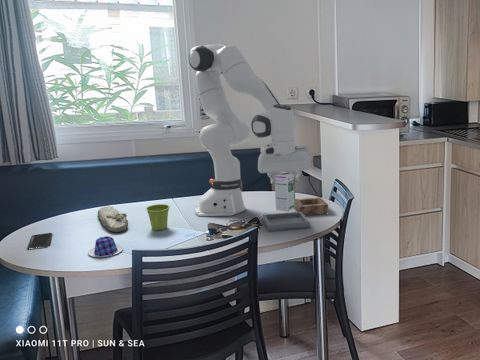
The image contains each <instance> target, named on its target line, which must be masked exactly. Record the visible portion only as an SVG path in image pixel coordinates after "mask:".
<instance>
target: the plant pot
mask: <svg viewBox="0 0 480 360" xmlns="http://www.w3.org/2000/svg"><path fill="white" fill-rule="evenodd" d="M170 207H171V206H170V205H168V204H165V203H164V204H163V203H160V204H157V203H156V204H152V205H149V206H147V207H145V210H146V211H147V214H148V217H149V223H150V226H151V229H152V230H154V231H159V230H160V231H163V230H166V229H167V228H168V218H169V216H168V215H169V211H170Z"/></svg>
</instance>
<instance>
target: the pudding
mask: <svg viewBox="0 0 480 360" xmlns="http://www.w3.org/2000/svg"><path fill="white" fill-rule="evenodd" d="M117 248H119V251H118V252H117V250H118V249H117ZM123 249H124V247H123V246H122V245H120V244H116V242H115V239H114V238H113V237H112V236H107V235H105V236H100V237H98V238H97V239H96V240H95V244H94V247H93V248H91V249H90V250H89V251H88V255H89V256H90V257H95V258H105V257H111V256H114V255H118V254H119V253H121V252H122V251H123ZM93 253H94V254H93ZM112 254H113V255H112ZM95 255H96V256H95ZM104 255H108V256H104Z"/></svg>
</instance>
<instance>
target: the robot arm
mask: <svg viewBox="0 0 480 360" xmlns="http://www.w3.org/2000/svg"><path fill="white" fill-rule="evenodd" d="M248 62H249V61H247V59H246V57H245V56H244V54H243V53H242V52H241V50H240V49H239V48H238V47H237V46H236V45H234V44H226V43H225V44H219V43H215V44H214V43H211V44H205V45H204V44H203V45H196V46H193V47H192V48H191V50H190V51H189V55H188V64H189V66H190V68H191V69H192V70H194V71H195V72H196V73H195V75H194V81H195V87H196V92H197V95H198V97H199V101H200V104H201V106H202V109H203V113H204V114H205V115H206V116H207V117H209V118H211V119H213V121H215V123H211V124H209V125H207V126H204V127H202V128H201V130H200V132H199V136H198V137H199V138H198V140H199V142H200V144H201V146H202V147H203V148H204V149H205V150H207V152H208V153H209V155H210V157H211V159H212V162H213V168H214V169H213V170H214V178H210V179H209V184H210V187H211V188H210V189H208V190H207V191H206V192H205V193H204V194H202V195H201V196H200V199H199V203H198V206H196V207H195V209H194V214H195V215H196V216H198V217H223V216H224V217H227V216H229V217H230V216H235V215H236V214H239V213H242V212H244V211H245V210H246V206H245V203H244V200H243V199H244V198H243V193H242V191H243V182H242V177H241V163H240V160H239V158H237V157H236V156H234V155H233V154H232V151H231V147H235V146H240V145H242V144H245V143H247V142H248V141H249V140H250V137H251V130H252V133H253V135H254V136H255V137H256V138H259V139H266V138H271V143H267V144H265V145H263V146H261V147H260V148H259V149H260V154H259V156H258V160H257V170H258V172H259V173H260V174H267V176H268V178H269V179H270V184H271V185H273V184H274V185H275V177H274V178H273V177H272V175H273V173H281V172H296V173H297V174H296V176H294V183H299V182H300V180H299V178H300V176H301V174H302V171H308V170H310V169H311V158H310V156H311V148H310V147H308V146H306V145H301V146H300V145H299V146H296V138H295V135H294V134H295V128H296V127H295V114H294V111H293V107H291V106H290V105H288V104H287V105H286V104H281V103H280V102H279V100H278V99H277V98H276V96H275V95H274V94H273V92H272V90H270V88H269V86H267V84H266V83H265V82H264V81H263V79H261V78H260V77H259V76H258V75H257V74H256V73H255V71H254V70H253V69H252V67H251V66H250V64H249V63H248ZM221 74H222V75H223V77H224V79H225V80H226V82H227V84H228V86H229V87H230V88H231V89H232V90H233V91H235V92H237V93H241V94H246V95H248V96H251V97H254V99H257V100H258V101H259V103H260V104H261V105H262V107H263V108H264V110H265V111H264V112H262V113H258V114H256V115H254V117H253V118H252V119H251V128H250V126H249V124H248V123H247V122H245V121H244V120H242V119H241V118H240V117H239V116H238V115H237V114H236V112H234V110H233V108H232V107H231V106H230V105H231V104H229V101H228V98H227V96H226V93H225V90H224V87H223V84H222V82H221Z"/></svg>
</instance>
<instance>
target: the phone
mask: <svg viewBox="0 0 480 360" xmlns="http://www.w3.org/2000/svg"><path fill="white" fill-rule="evenodd" d="M53 234H54V233H53V232H47V233H39V234H32V235H31V236H30V240H29V242H28V245H27V249H28V248H36V247H37V248H38V247H45V248H47V247H46V246H49V247H51V244H52V240H53ZM38 249H39V248H38Z"/></svg>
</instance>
